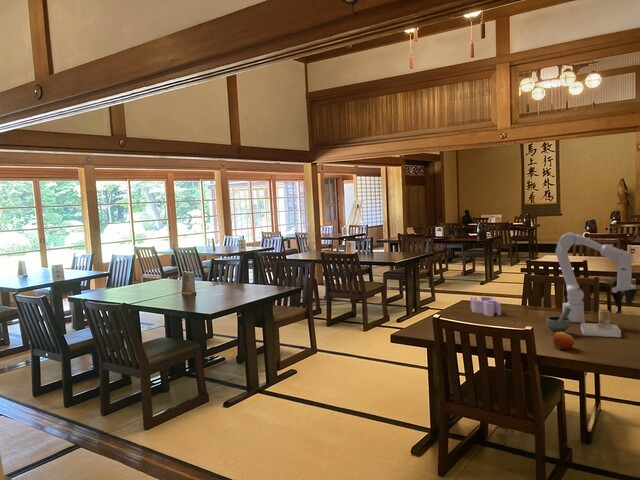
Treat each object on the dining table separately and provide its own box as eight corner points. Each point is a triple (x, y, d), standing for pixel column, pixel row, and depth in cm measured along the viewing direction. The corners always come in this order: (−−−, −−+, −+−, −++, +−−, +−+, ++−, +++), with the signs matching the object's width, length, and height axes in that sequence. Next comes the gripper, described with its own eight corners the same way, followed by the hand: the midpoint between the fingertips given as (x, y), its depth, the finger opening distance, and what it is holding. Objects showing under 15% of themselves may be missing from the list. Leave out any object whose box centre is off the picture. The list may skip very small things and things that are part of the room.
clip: (506, 315, 262) (506, 302, 262) (485, 317, 260) (485, 304, 259) (486, 307, 282) (486, 295, 281) (466, 309, 279) (466, 297, 279)
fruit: (544, 343, 208) (554, 326, 208) (559, 351, 209) (569, 335, 209) (555, 348, 200) (565, 331, 200) (571, 357, 201) (580, 340, 201)
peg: (599, 328, 231) (599, 311, 230) (598, 326, 234) (598, 309, 234) (609, 329, 229) (609, 312, 228) (608, 326, 233) (608, 310, 232)
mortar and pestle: (553, 337, 221) (553, 310, 219) (542, 331, 230) (542, 306, 229) (577, 335, 222) (577, 309, 221) (564, 329, 231) (564, 304, 230)
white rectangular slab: (583, 335, 221) (583, 328, 221) (580, 329, 231) (580, 322, 230) (620, 337, 216) (620, 330, 215) (616, 331, 225) (616, 324, 225)
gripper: (622, 280, 225) (621, 309, 226) (642, 276, 231) (641, 305, 232) (607, 278, 231) (607, 306, 232) (627, 274, 237) (627, 302, 238)
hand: (623, 305), depth 233 cm, fingers open, 7 cm apart
